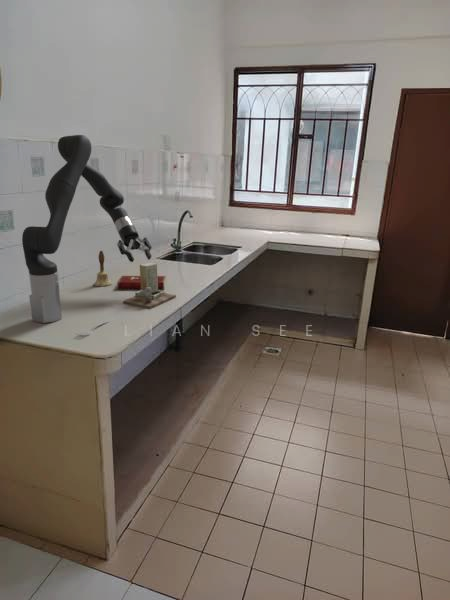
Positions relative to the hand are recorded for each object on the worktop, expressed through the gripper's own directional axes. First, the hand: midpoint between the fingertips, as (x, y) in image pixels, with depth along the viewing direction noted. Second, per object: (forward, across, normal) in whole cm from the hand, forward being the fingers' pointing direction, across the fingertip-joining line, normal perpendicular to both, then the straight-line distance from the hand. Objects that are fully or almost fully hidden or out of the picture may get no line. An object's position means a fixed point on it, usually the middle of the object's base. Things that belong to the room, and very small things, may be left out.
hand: (141, 259), depth 181 cm
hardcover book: (+3, +7, +20) cm, 21 cm away
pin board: (+17, -2, +5) cm, 18 cm away
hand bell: (-7, -6, +30) cm, 31 cm away
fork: (+28, -32, -5) cm, 43 cm away
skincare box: (+14, 0, +5) cm, 14 cm away
